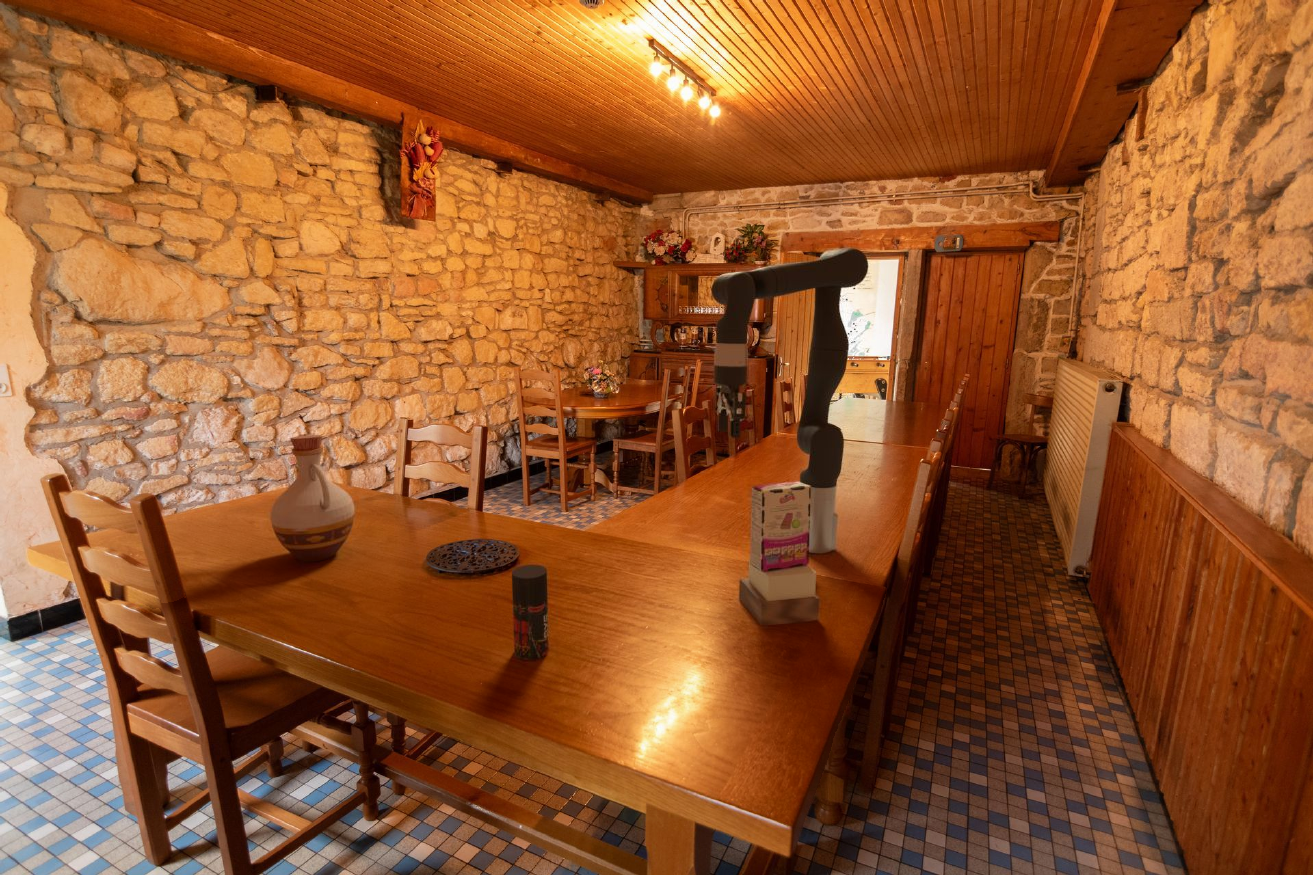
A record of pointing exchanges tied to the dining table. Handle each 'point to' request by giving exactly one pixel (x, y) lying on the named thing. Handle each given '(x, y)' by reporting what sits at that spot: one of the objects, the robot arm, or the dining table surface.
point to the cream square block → (784, 582)
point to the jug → (312, 507)
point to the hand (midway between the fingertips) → (728, 434)
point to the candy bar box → (780, 525)
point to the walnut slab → (777, 607)
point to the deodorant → (530, 612)
